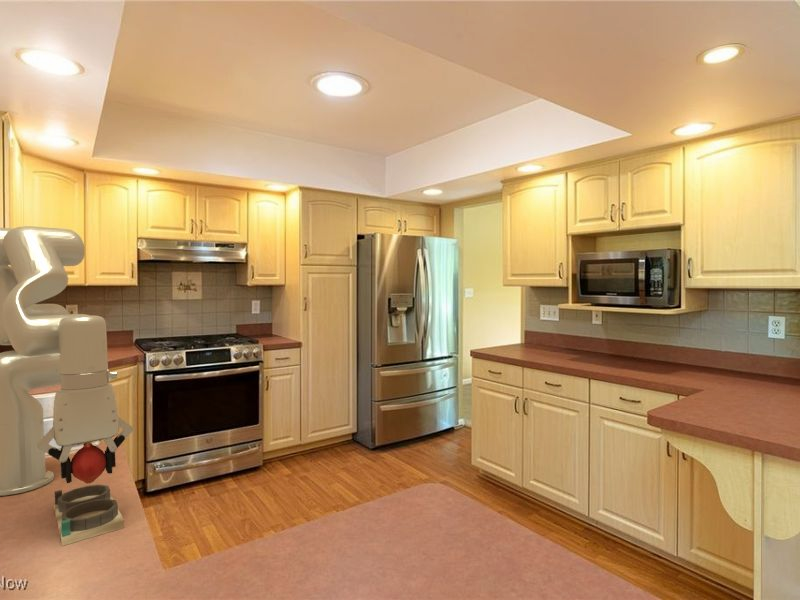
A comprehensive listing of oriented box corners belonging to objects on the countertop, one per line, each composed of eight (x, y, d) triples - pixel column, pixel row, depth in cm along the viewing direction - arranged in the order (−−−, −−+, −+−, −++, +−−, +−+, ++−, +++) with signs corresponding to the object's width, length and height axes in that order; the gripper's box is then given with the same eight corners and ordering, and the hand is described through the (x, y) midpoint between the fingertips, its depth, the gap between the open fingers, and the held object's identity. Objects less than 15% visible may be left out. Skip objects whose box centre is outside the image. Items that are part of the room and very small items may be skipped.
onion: (76, 480, 92) (74, 439, 91) (110, 475, 94) (108, 434, 93) (66, 491, 86) (65, 447, 86) (103, 486, 88) (101, 443, 88)
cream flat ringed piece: (54, 510, 98) (53, 491, 98) (108, 496, 104) (108, 478, 104) (61, 546, 84) (61, 524, 84) (124, 527, 90) (123, 507, 90)
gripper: (132, 372, 98) (136, 460, 98) (26, 385, 87) (31, 483, 87) (140, 377, 92) (144, 469, 92) (27, 391, 81) (32, 496, 82)
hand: (89, 475), depth 90 cm, fingers closed on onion, 5 cm apart
